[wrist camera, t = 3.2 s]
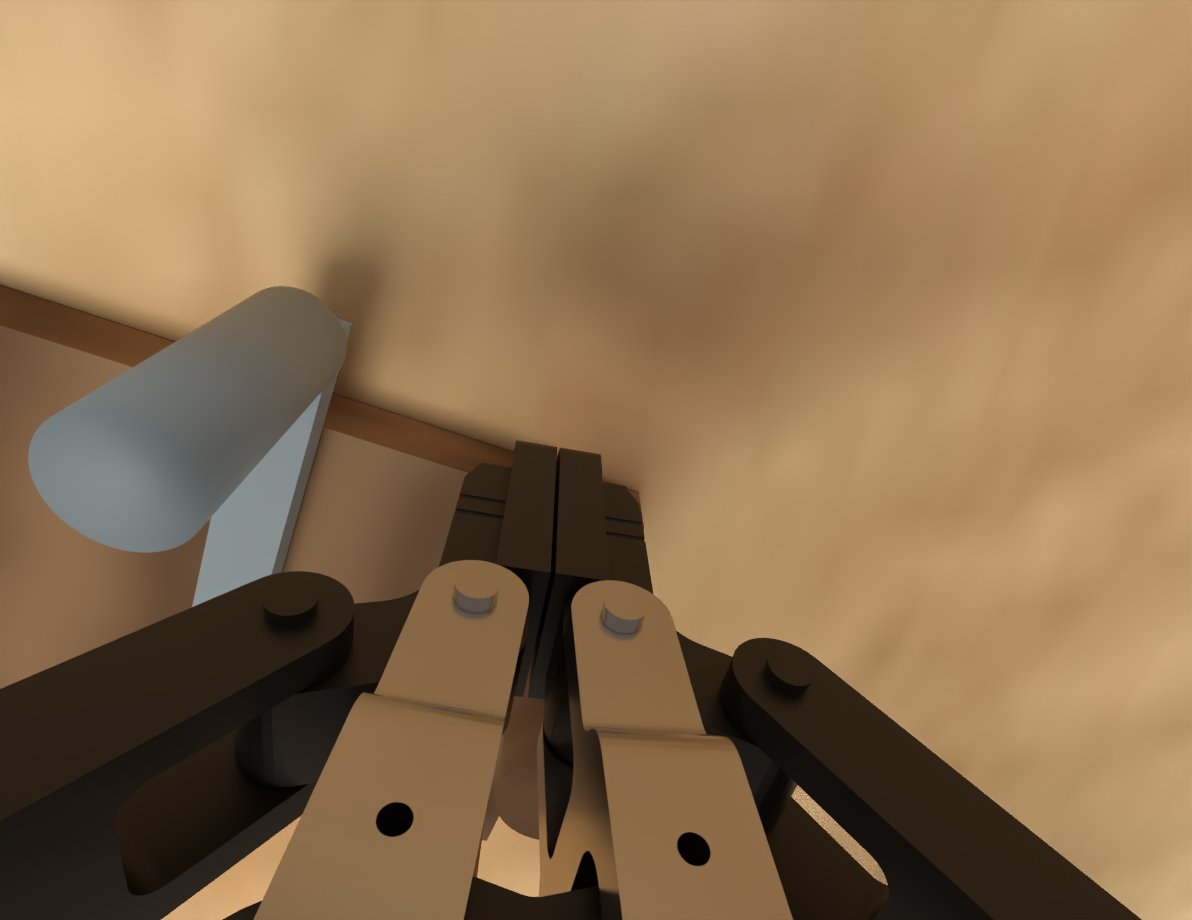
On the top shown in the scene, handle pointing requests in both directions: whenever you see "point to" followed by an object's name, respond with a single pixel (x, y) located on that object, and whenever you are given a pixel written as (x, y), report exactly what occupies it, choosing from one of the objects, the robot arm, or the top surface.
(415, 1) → the top surface
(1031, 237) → the top surface
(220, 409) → the cylinder
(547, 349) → the top surface
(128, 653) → the robot arm
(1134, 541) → the top surface
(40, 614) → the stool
